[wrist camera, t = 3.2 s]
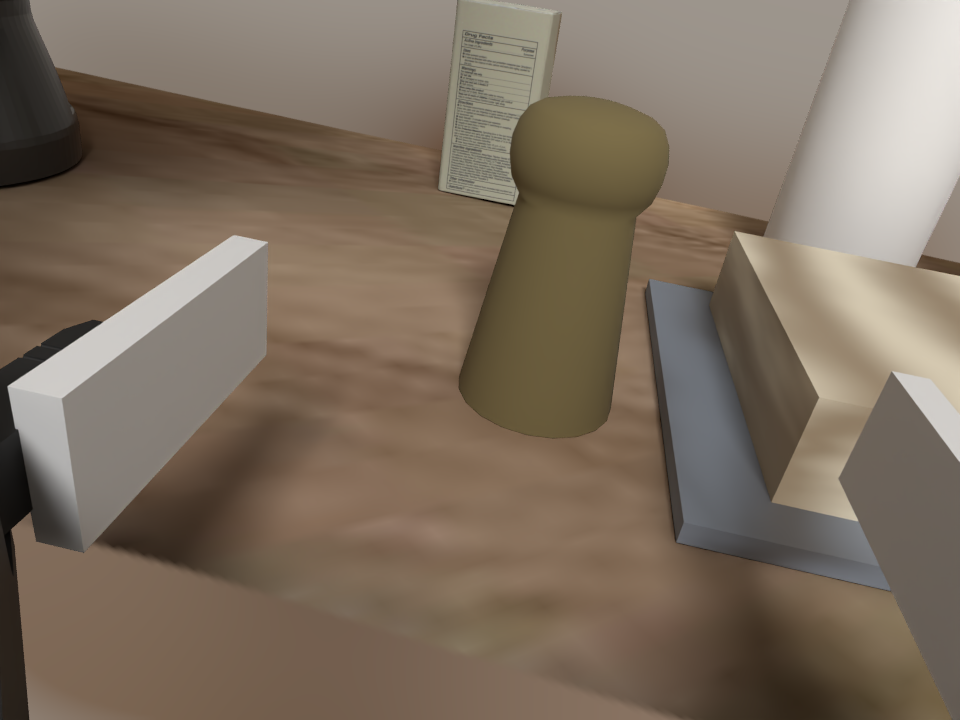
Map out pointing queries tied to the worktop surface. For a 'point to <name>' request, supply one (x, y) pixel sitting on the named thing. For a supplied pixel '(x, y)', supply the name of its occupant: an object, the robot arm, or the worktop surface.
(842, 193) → the alcohol
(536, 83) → the skincare box
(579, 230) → the cork
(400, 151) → the worktop surface
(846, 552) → the plinth
